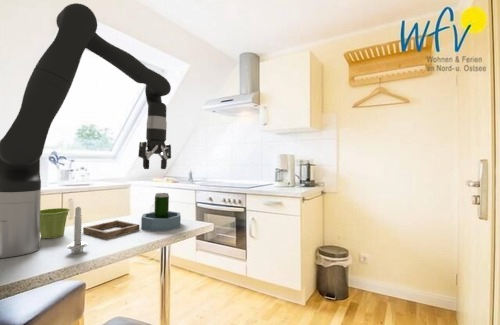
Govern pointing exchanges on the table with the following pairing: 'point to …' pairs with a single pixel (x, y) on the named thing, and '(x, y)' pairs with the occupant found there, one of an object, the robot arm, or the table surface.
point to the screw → (77, 234)
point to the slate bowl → (160, 222)
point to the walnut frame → (97, 231)
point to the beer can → (161, 205)
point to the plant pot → (53, 222)
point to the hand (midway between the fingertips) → (155, 169)
